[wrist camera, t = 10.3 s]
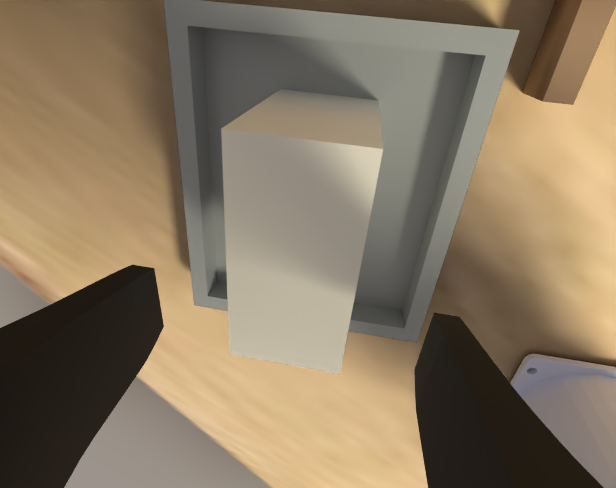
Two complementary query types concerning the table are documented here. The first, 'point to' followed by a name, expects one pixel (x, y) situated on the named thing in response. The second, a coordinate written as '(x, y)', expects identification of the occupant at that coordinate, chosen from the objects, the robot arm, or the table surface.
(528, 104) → the table surface
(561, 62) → the walnut dock
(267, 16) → the grey tray
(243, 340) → the beige rectangular block
